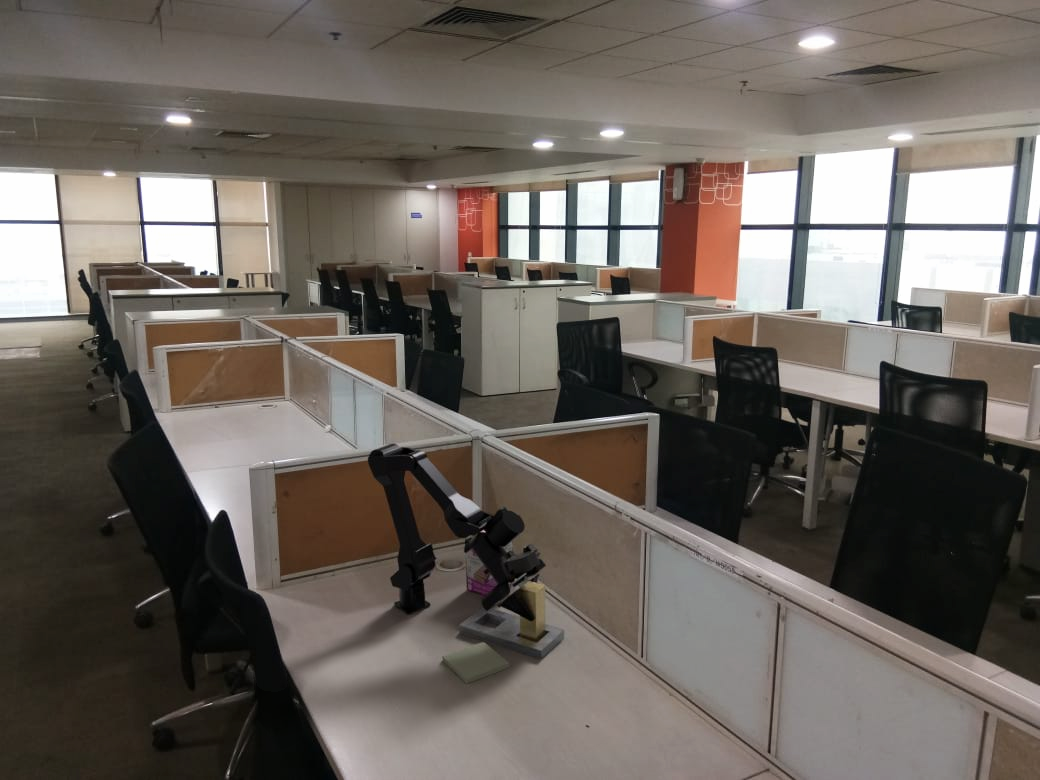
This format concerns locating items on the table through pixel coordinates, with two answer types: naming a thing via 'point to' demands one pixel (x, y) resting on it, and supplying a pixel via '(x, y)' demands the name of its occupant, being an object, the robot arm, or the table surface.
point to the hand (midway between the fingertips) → (538, 615)
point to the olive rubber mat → (475, 662)
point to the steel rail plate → (509, 633)
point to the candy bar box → (479, 572)
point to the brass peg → (533, 611)
